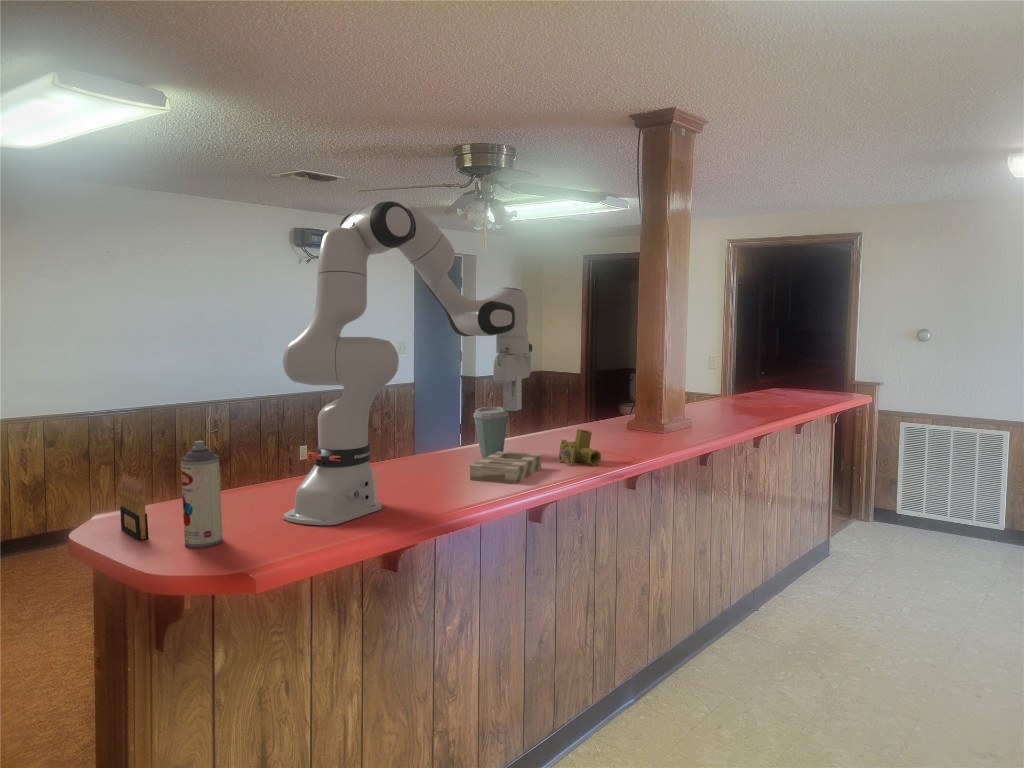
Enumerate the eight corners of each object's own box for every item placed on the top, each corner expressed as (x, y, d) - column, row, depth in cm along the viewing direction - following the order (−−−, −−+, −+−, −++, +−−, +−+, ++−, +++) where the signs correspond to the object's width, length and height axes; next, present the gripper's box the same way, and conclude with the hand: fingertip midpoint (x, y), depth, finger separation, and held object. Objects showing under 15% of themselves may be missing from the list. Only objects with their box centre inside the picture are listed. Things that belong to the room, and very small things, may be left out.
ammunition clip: (148, 539, 145) (145, 479, 143) (138, 541, 143) (135, 481, 142) (130, 527, 152) (127, 471, 151) (121, 529, 151) (117, 472, 150)
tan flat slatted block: (516, 483, 189) (516, 468, 189) (470, 479, 194) (470, 465, 194) (541, 468, 208) (541, 454, 208) (498, 464, 213) (498, 451, 212)
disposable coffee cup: (508, 460, 219) (508, 410, 217) (472, 460, 219) (472, 411, 217) (508, 453, 229) (508, 406, 228) (474, 453, 229) (473, 406, 228)
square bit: (516, 410, 201) (516, 374, 200) (503, 410, 202) (502, 374, 201) (521, 409, 205) (521, 373, 204) (508, 408, 206) (508, 373, 205)
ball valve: (574, 460, 223) (548, 459, 218) (579, 427, 222) (553, 425, 217) (601, 470, 213) (574, 469, 207) (606, 435, 212) (579, 434, 206)
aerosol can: (181, 541, 143) (176, 440, 141) (217, 535, 147) (213, 437, 145) (189, 550, 138) (184, 446, 135) (226, 543, 142) (222, 442, 139)
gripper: (509, 349, 191) (509, 401, 192) (534, 345, 210) (534, 393, 211) (487, 348, 193) (487, 400, 194) (514, 345, 212) (514, 392, 213)
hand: (512, 396), depth 203 cm, fingers closed on square bit, 4 cm apart
